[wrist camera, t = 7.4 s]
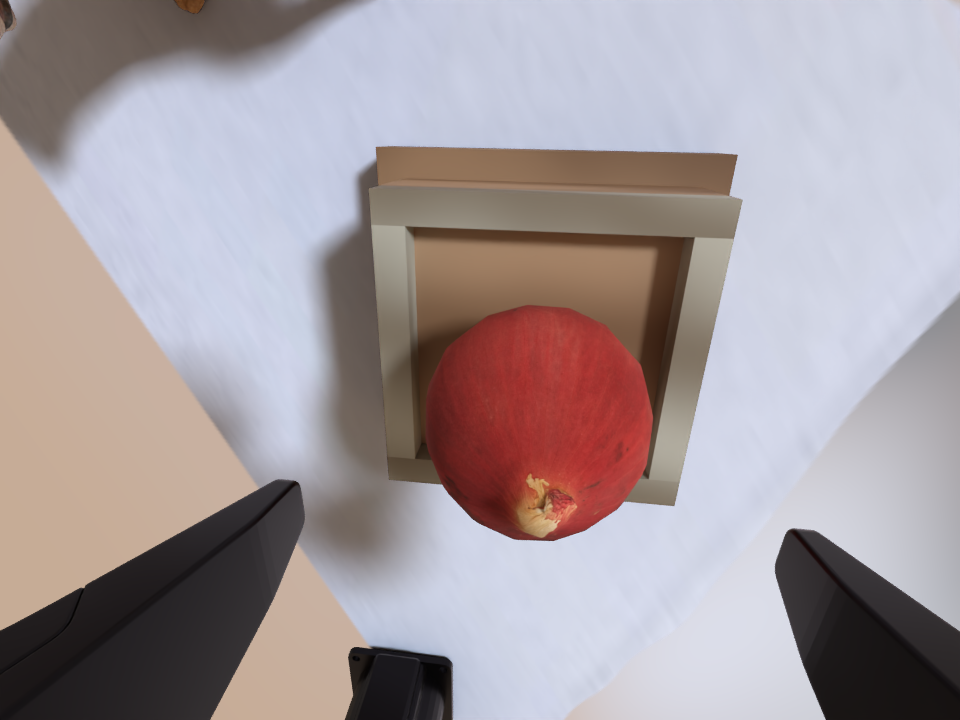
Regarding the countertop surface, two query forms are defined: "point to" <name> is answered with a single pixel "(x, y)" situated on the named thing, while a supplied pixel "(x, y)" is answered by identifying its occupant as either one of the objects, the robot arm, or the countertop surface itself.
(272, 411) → the countertop surface
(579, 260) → the wooden tray on base
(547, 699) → the countertop surface
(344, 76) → the countertop surface
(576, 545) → the countertop surface
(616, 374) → the onion
